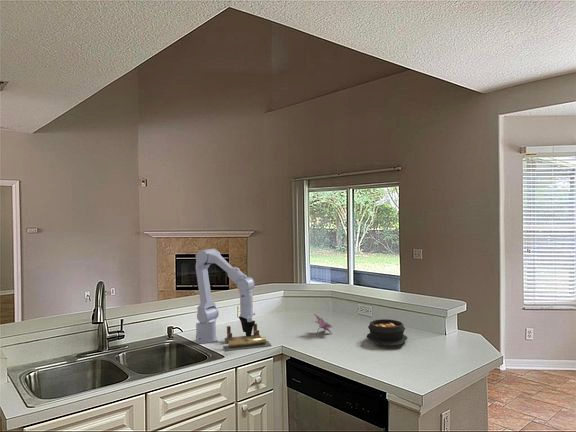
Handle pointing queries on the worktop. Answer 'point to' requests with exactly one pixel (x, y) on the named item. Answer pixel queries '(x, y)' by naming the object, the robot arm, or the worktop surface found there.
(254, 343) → the rail
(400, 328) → the casserole
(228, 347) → the mat
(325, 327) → the lily
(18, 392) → the worktop surface
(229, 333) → the hook stand
